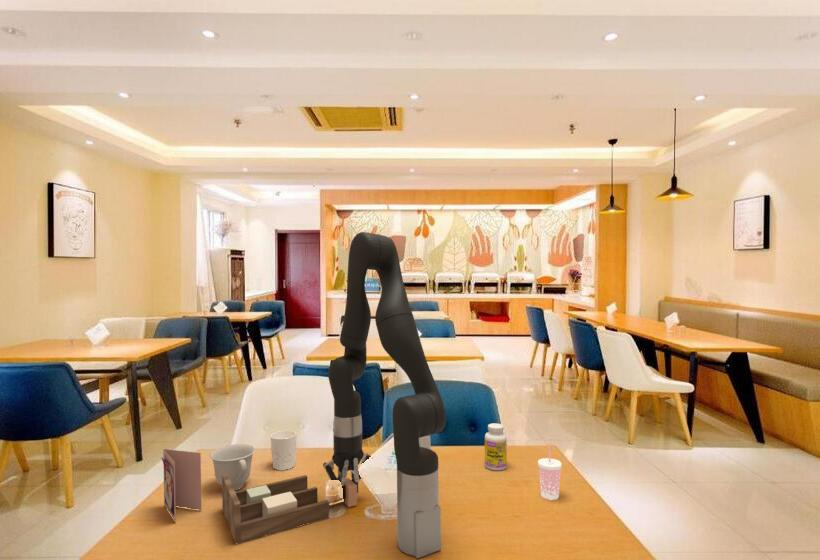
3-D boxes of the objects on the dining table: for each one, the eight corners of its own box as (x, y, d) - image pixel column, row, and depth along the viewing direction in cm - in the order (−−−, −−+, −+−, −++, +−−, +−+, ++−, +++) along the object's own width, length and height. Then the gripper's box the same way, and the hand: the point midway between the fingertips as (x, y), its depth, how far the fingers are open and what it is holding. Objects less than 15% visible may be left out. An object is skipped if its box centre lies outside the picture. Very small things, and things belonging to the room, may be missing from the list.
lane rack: (329, 517, 116) (328, 481, 116) (235, 544, 105) (234, 504, 105) (306, 489, 131) (305, 457, 131) (222, 509, 120) (221, 475, 120)
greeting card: (160, 507, 122) (159, 449, 122) (191, 498, 127) (190, 442, 127) (171, 525, 113) (170, 463, 113) (204, 514, 118) (203, 455, 118)
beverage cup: (561, 502, 122) (561, 449, 122) (537, 499, 124) (537, 446, 124) (562, 492, 128) (561, 441, 128) (538, 489, 130) (538, 438, 130)
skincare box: (431, 460, 151) (431, 423, 150) (421, 464, 148) (420, 426, 148) (419, 455, 155) (419, 418, 155) (408, 458, 152) (408, 421, 152)
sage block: (271, 512, 119) (270, 492, 119) (250, 517, 117) (250, 497, 117) (266, 503, 124) (266, 484, 124) (246, 508, 121) (246, 489, 121)
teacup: (221, 505, 123) (221, 467, 123) (204, 485, 134) (204, 450, 134) (266, 491, 130) (265, 455, 130) (246, 473, 142) (246, 440, 142)
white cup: (270, 463, 150) (270, 431, 150) (296, 459, 152) (295, 429, 152) (271, 473, 142) (270, 440, 142) (297, 469, 145) (297, 437, 145)
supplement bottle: (483, 470, 143) (483, 428, 143) (486, 461, 150) (486, 421, 149) (505, 472, 141) (505, 430, 141) (507, 463, 148) (507, 423, 147)
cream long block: (357, 504, 122) (357, 485, 122) (268, 529, 110) (268, 508, 110) (348, 495, 127) (348, 477, 127) (262, 518, 116) (262, 498, 115)
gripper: (327, 440, 117) (328, 509, 117) (377, 430, 124) (378, 495, 124) (317, 431, 123) (318, 497, 123) (365, 422, 130) (366, 484, 130)
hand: (348, 496), depth 124 cm, fingers closed on cream long block, 2 cm apart
